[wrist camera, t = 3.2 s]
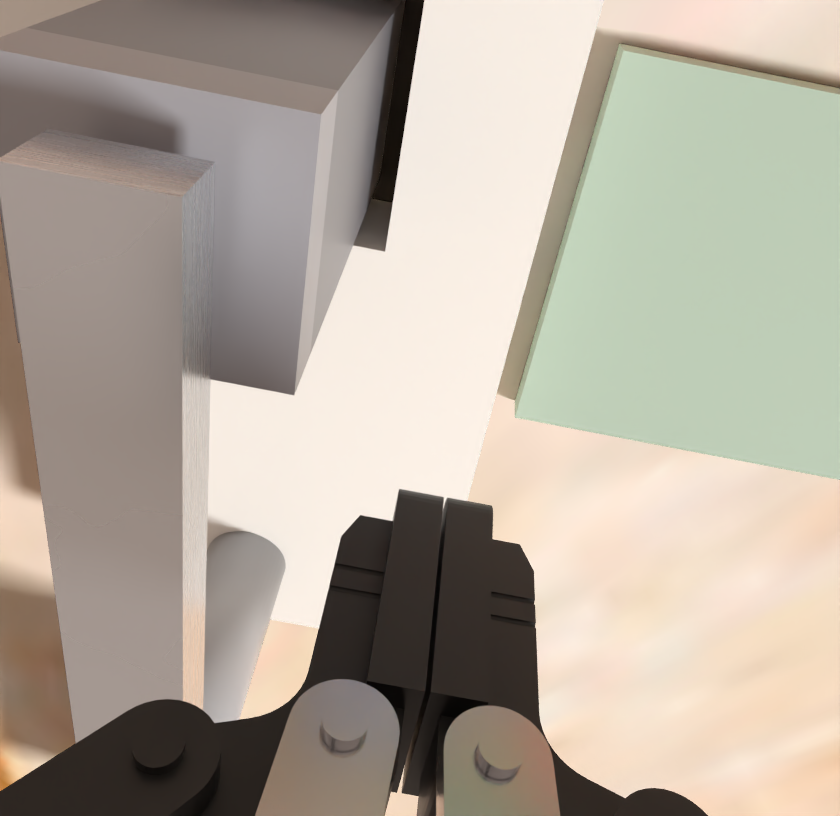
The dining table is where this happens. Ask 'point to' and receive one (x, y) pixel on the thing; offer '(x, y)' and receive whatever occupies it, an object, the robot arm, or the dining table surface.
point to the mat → (700, 269)
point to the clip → (118, 405)
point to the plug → (232, 139)
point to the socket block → (390, 323)
